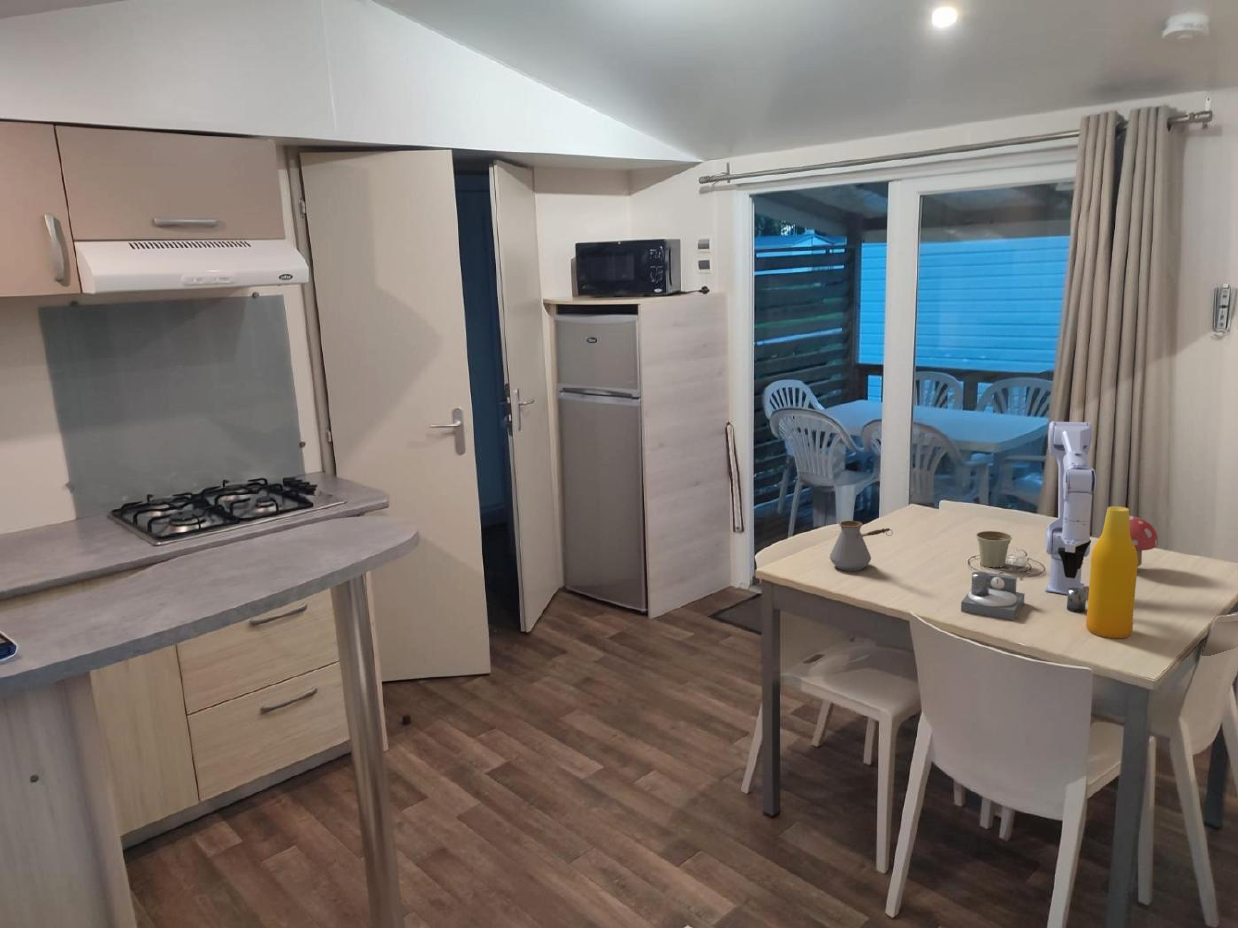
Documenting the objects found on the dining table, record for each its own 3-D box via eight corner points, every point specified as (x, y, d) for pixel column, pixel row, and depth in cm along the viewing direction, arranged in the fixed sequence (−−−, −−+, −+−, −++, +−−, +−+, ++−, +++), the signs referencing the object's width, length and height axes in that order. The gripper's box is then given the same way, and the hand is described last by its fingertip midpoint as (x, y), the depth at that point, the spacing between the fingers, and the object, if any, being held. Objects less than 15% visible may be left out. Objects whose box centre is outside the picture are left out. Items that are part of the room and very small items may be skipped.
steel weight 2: (1068, 605, 216) (1069, 586, 215) (1086, 608, 213) (1087, 589, 212) (1065, 611, 212) (1066, 591, 211) (1084, 613, 210) (1085, 594, 209)
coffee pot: (821, 564, 253) (821, 514, 250) (852, 557, 258) (852, 508, 255) (872, 586, 234) (874, 532, 231) (905, 578, 239) (906, 525, 236)
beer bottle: (1119, 642, 194) (1130, 516, 188) (1077, 630, 201) (1086, 508, 195) (1139, 631, 199) (1150, 508, 193) (1097, 620, 206) (1107, 501, 200)
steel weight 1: (972, 590, 220) (972, 571, 218) (989, 591, 218) (990, 572, 217) (970, 595, 216) (971, 576, 215) (987, 597, 214) (988, 577, 213)
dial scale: (973, 594, 225) (974, 570, 224) (1024, 602, 219) (1025, 578, 217) (960, 611, 215) (962, 586, 214) (1013, 620, 208) (1014, 594, 207)
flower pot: (1001, 572, 241) (1002, 542, 239) (968, 565, 248) (969, 536, 246) (1016, 564, 247) (1018, 535, 245) (984, 557, 254) (985, 528, 252)
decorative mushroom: (1096, 560, 247) (1100, 508, 244) (1151, 564, 242) (1155, 511, 239) (1101, 575, 235) (1105, 521, 232) (1159, 579, 230) (1164, 525, 227)
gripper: (1063, 509, 216) (1059, 561, 219) (1052, 524, 205) (1049, 578, 208) (1095, 512, 212) (1091, 566, 215) (1086, 527, 201) (1082, 583, 204)
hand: (1072, 572), depth 211 cm, fingers open, 7 cm apart
